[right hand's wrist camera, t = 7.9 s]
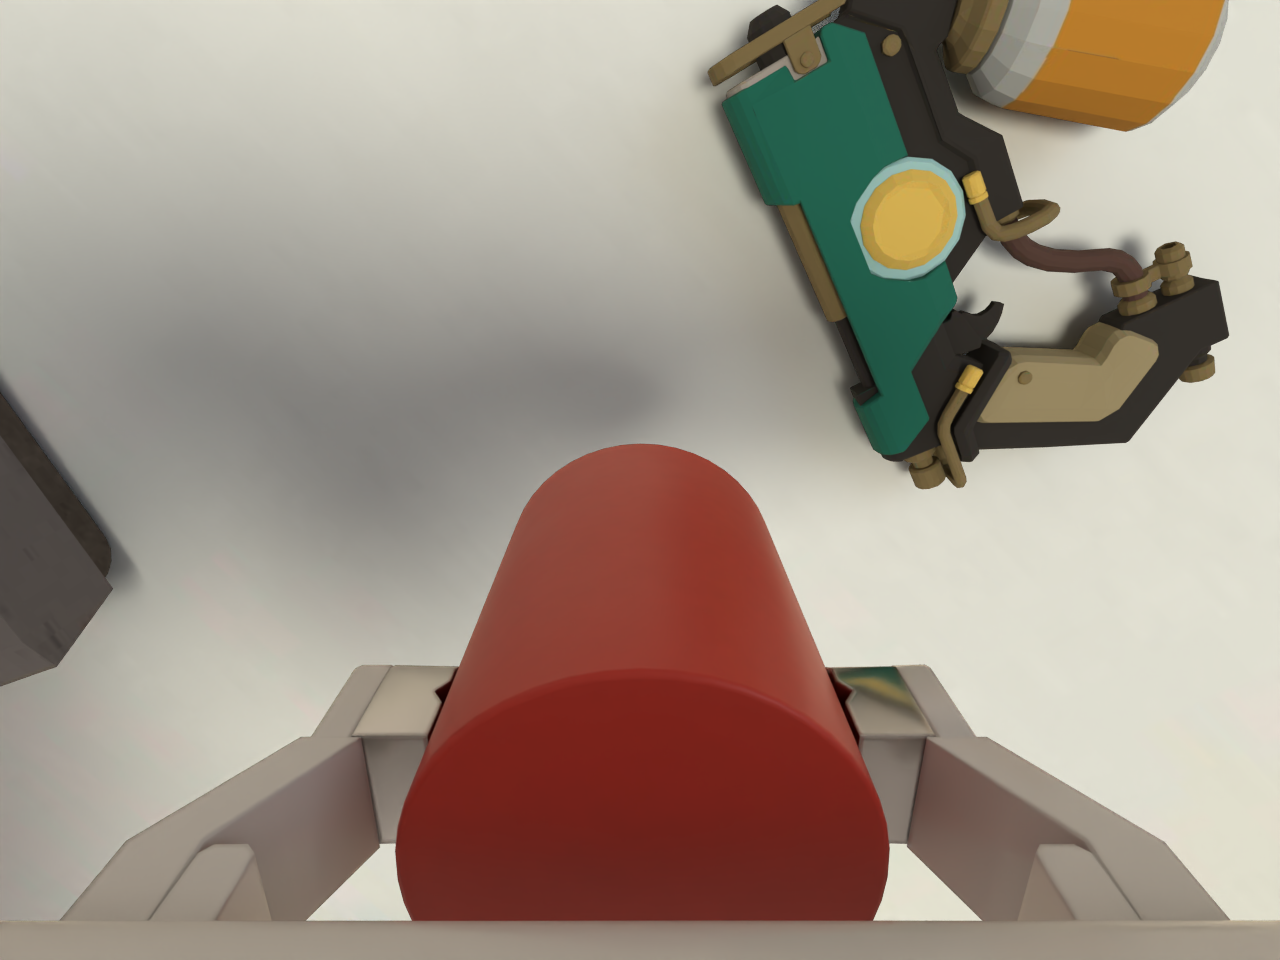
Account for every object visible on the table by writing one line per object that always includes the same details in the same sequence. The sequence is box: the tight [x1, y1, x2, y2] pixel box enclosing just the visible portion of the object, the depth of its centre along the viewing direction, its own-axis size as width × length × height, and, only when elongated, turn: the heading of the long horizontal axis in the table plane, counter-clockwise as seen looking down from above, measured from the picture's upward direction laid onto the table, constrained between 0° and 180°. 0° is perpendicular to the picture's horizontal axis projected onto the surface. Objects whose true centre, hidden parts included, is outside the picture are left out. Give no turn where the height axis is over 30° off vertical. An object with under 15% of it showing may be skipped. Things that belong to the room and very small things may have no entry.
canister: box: [395, 444, 890, 921], centre depth 11 cm, size 6×6×7 cm
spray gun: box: [708, 0, 1229, 489], centre depth 22 cm, size 4×17×15 cm
